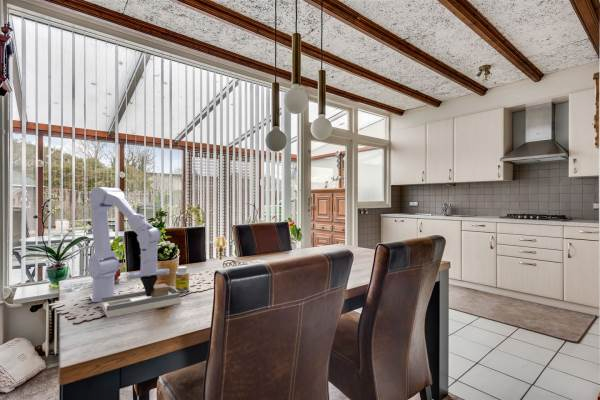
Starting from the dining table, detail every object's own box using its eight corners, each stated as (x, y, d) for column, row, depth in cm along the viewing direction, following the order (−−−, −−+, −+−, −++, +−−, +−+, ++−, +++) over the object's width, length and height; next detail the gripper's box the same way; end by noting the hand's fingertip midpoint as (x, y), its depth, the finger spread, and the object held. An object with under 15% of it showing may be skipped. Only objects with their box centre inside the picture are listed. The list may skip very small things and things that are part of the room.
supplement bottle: (173, 292, 129) (173, 268, 129) (177, 288, 135) (177, 265, 135) (187, 292, 130) (187, 268, 130) (190, 288, 136) (190, 265, 136)
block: (150, 295, 118) (151, 285, 118) (164, 293, 122) (164, 283, 122) (154, 299, 114) (154, 288, 115) (168, 296, 118) (168, 286, 118)
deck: (101, 306, 112) (101, 295, 112) (169, 294, 127) (169, 284, 127) (107, 317, 101) (107, 305, 101) (180, 303, 116) (180, 292, 116)
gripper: (129, 264, 108) (129, 302, 108) (172, 259, 117) (171, 294, 117) (125, 260, 113) (125, 297, 113) (166, 256, 123) (165, 290, 122)
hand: (148, 295), depth 115 cm, fingers closed
